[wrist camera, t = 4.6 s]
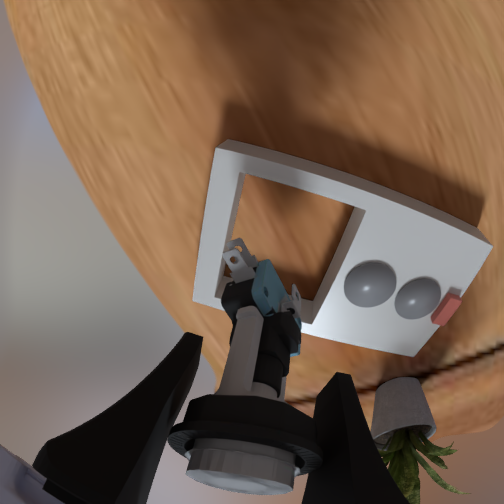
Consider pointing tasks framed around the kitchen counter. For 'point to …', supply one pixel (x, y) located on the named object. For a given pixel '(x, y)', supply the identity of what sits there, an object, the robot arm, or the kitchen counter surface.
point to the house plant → (406, 435)
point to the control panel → (353, 253)
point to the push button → (252, 392)
